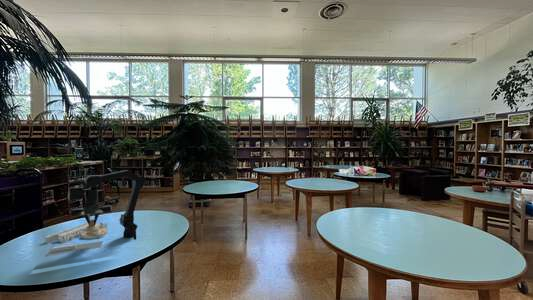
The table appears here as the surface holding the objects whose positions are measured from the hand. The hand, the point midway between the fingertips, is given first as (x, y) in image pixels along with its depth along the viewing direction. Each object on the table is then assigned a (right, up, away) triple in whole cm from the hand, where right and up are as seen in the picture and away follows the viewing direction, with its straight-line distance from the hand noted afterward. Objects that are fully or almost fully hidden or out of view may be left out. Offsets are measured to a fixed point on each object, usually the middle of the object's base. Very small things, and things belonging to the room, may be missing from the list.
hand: (92, 225), depth 138 cm
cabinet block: (0, -5, 0) cm, 5 cm away
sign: (-17, -13, +19) cm, 29 cm away
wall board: (-7, -13, -3) cm, 15 cm away
